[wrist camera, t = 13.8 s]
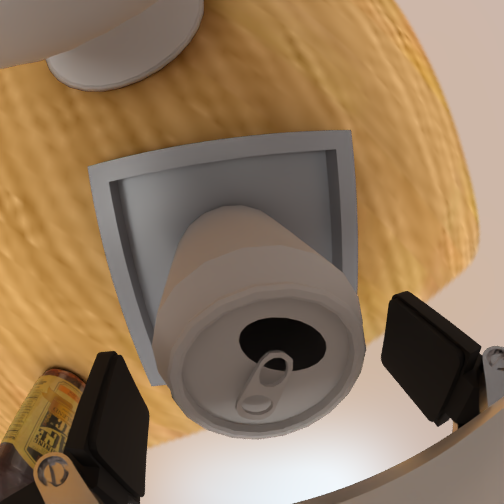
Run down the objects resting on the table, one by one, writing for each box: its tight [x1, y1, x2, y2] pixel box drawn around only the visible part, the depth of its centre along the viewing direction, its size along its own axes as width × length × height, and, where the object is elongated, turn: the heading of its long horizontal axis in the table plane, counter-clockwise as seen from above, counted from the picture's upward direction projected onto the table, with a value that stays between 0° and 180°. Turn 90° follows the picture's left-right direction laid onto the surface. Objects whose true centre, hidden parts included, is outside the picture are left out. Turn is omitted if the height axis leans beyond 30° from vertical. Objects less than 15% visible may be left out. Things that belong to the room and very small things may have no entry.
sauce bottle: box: [0, 369, 86, 502], centre depth 12 cm, size 6×6×20 cm
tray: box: [88, 130, 358, 386], centre depth 19 cm, size 16×16×2 cm
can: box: [152, 205, 366, 439], centre depth 14 cm, size 8×8×12 cm
